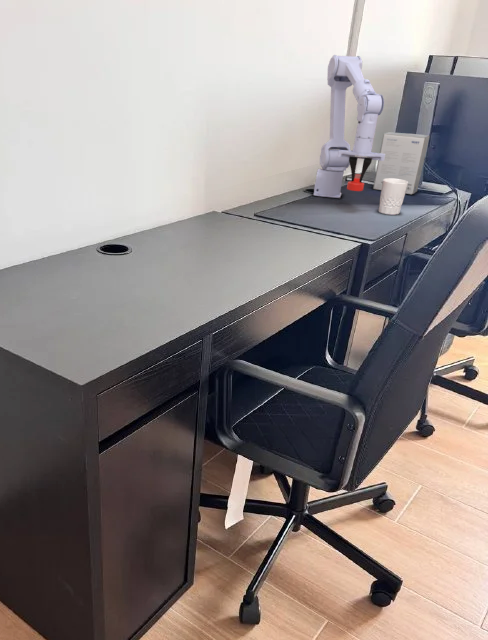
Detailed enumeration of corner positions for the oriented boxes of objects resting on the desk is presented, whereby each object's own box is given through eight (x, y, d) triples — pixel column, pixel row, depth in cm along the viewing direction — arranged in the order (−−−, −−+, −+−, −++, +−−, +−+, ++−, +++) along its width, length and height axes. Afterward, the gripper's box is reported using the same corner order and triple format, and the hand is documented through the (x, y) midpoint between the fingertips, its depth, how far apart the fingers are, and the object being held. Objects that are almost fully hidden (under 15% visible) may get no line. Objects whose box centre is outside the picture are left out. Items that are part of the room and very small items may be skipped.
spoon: (362, 191, 184) (364, 181, 183) (346, 190, 186) (347, 180, 184) (364, 184, 195) (366, 174, 194) (348, 182, 196) (350, 173, 195)
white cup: (388, 216, 187) (395, 184, 182) (371, 210, 193) (377, 179, 188) (406, 214, 190) (413, 182, 185) (389, 208, 196) (395, 177, 191)
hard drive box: (417, 192, 222) (431, 135, 211) (412, 195, 216) (426, 137, 206) (377, 186, 229) (388, 131, 218) (371, 189, 223) (383, 132, 213)
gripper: (340, 137, 181) (333, 182, 189) (388, 140, 178) (378, 186, 185) (342, 134, 187) (334, 178, 194) (388, 138, 184) (379, 182, 191)
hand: (356, 182), depth 190 cm, fingers closed on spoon, 2 cm apart
